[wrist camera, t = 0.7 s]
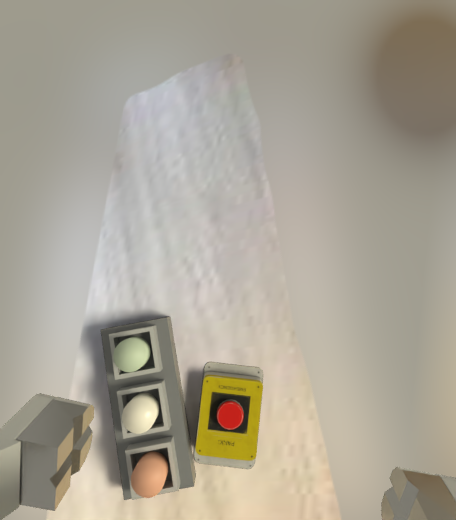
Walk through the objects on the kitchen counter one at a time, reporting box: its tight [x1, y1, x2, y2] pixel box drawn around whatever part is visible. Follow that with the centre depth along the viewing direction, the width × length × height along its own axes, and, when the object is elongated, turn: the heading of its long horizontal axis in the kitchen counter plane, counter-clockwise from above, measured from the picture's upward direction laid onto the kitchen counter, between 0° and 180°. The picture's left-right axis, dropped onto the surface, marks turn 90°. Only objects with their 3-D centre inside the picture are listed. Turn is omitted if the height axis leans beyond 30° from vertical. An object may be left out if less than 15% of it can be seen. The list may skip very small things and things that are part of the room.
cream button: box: [122, 393, 160, 434], centre depth 47 cm, size 4×4×3 cm
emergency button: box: [194, 362, 263, 469], centre depth 50 cm, size 9×4×15 cm
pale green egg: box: [113, 337, 151, 372], centre depth 47 cm, size 4×4×3 cm
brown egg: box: [131, 451, 169, 498], centre depth 46 cm, size 4×4×3 cm
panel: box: [101, 317, 196, 500], centre depth 50 cm, size 24×10×5 cm, turn 10°
